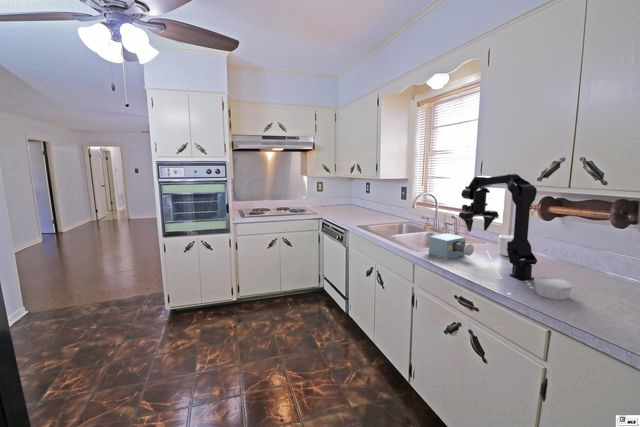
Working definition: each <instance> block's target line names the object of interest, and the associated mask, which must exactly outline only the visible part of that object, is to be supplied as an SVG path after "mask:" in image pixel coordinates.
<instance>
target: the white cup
mask: <svg viewBox="0 0 640 427" xmlns="http://www.w3.org/2000/svg"><path fill="white" fill-rule="evenodd" d="M513 238H514V235H510V234H499V235H498V242H497V244H498V246H497V247H498V255H501V256H503V257H505V256H506V257H509V256H508V251H507V243H508V241H512V240H513Z"/></svg>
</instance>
